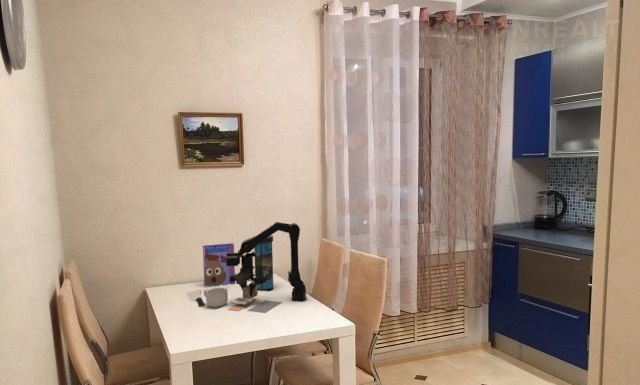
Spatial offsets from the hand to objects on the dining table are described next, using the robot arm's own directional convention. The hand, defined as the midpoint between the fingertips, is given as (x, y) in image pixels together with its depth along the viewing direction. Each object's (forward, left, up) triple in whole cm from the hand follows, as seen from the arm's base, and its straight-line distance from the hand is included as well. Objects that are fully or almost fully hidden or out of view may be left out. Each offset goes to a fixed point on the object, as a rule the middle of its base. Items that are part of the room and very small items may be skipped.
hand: (248, 295), depth 226 cm
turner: (0, +1, -1) cm, 2 cm away
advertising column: (+6, -26, -4) cm, 27 cm away
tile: (0, +8, -4) cm, 9 cm away
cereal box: (+37, -27, -4) cm, 46 cm away
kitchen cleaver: (+32, +2, -5) cm, 32 cm away
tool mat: (-11, +3, -4) cm, 12 cm away
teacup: (+15, +8, -4) cm, 17 cm away
